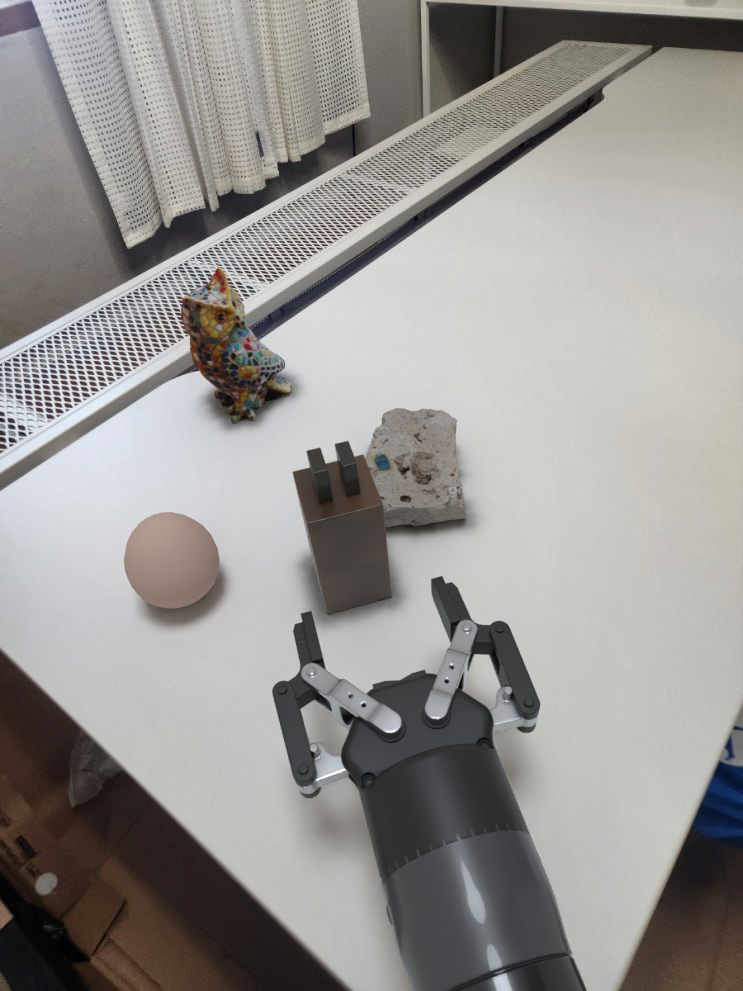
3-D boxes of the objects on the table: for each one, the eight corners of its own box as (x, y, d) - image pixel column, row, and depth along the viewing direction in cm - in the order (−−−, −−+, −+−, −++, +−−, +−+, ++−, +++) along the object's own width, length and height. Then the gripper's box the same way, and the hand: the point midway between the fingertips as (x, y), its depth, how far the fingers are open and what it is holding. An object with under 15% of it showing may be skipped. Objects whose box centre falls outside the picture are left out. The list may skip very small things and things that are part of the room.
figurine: (291, 421, 70) (263, 291, 59) (206, 430, 70) (162, 302, 59) (292, 373, 76) (266, 246, 65) (213, 381, 76) (175, 256, 65)
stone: (466, 523, 54) (346, 504, 56) (460, 555, 59) (349, 537, 60) (483, 399, 61) (375, 384, 62) (476, 437, 66) (376, 423, 67)
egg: (159, 555, 59) (126, 489, 53) (238, 557, 58) (214, 490, 52) (131, 625, 54) (91, 561, 48) (216, 629, 53) (187, 564, 47)
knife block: (374, 547, 58) (359, 422, 48) (392, 597, 54) (380, 473, 44) (313, 563, 57) (285, 440, 47) (327, 615, 53) (299, 493, 43)
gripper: (611, 799, 30) (479, 536, 41) (302, 898, 28) (250, 596, 39) (586, 849, 36) (475, 605, 47) (325, 936, 34) (274, 661, 45)
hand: (372, 601), depth 43 cm, fingers open, 8 cm apart
